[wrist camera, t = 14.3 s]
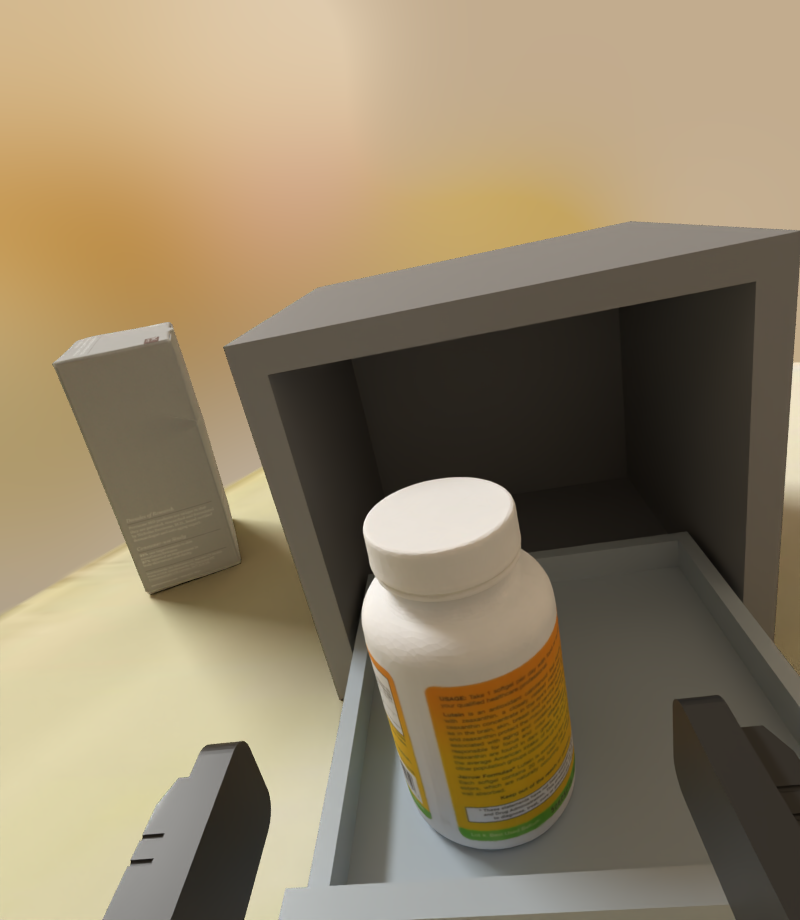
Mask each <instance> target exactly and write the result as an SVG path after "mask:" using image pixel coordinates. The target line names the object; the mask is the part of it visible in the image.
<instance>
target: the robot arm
mask: <svg viewBox="0 0 800 920" xmlns="http://www.w3.org/2000/svg"><path fill="white" fill-rule="evenodd" d="M672 708H673V757H674V765H675V770H676V775H677V779H678V782H679V786H680V789H681V792H682V794H683V797H684V799H685V802H686V804H687V806H688V809H689V811H690V814H691V816H692V818H693V821H694V823H695V825H696V828H697V830H698V832H699V835H700V837H701V839H702V842H703V844H704V846H705V849H706V851H707V853H708V856H709V858H710V861H711V863H712V865H713V868H714V870H715V872H716V875H717V877H718V879H719V882H720V884H721V886H722V889H723V891H724V893H725V896H726V898H727V901H728V903H729V905H730V908H731V910H732V912H733V915H734V917H735V919H736V920H800V759H799V758H798V756H797V755H796V753H795V752H794V751H793V750H792V749H791V748H790V747H789V746H787V745H786V744H785V743H784V742H782V741H781V740H780V739H779V738H778V737H776V736H775V735H774V734H773V733H772V732H770V731H769V730H768V729H767V728H766V727H764V726H763V725H760V726H749V727H740V725H739V723H738V722H737V720H736V718H735V717H734V715H733V713H732V711H731V710H730V708H729V706H728V705H727V703H726V702H725V700H724V699H723V698H722V697H721V696H719V695H711V696H701V697H691V698H681V699H674V701H673V707H672ZM270 817H271V803H270V796H269V792H268V789H267V787H266V785H265V782H264V780H263V778H262V775H261V773H260V771H259V768H258V766H257V764H256V761H255V759H254V757H253V754H252V752H251V750H250V747H249V746H248V744H247V743H246V742H244V741H240V742H230V743H220V744H210V745H206V746H205V747H204V748H203V749H202V750H201V752H200V754H199V756H198V758H197V760H196V762H195V765H194V767H193V769H192V772H191V774H190V776H189V777H184V778H178V779H177V780H176V782H175V783H174V784H173V785H172V787H171V788H170V789H169V790H168V791H167V793H166V794H165V795H164V796H163V797H162V799H161V800H160V801H159V802H158V804H157V805H156V807H155V809H154V811H153V813H152V815H151V817H150V820H149V822H148V824H147V826H146V828H145V830H144V832H143V838H142V841H139V843H138V845H137V847H136V849H135V852H134V854H133V856H132V858H131V864H130V866H128V867H127V869H126V871H125V873H124V875H123V877H122V879H121V881H120V883H119V886H118V888H117V890H116V892H115V894H114V896H113V898H112V900H111V903H110V905H109V907H108V909H107V911H106V913H105V915H104V917H103V920H244V918H245V915H246V911H247V907H248V903H249V900H250V896H251V892H252V889H253V885H254V881H255V878H256V874H257V870H258V866H259V863H260V859H261V855H262V852H263V848H264V844H265V840H266V837H267V833H268V829H269V824H270Z"/></svg>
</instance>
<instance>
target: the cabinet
mask: <svg viewBox="0 0 800 920" xmlns="http://www.w3.org/2000/svg"><path fill="white" fill-rule="evenodd" d="M799 267H800V231H799V230H782V229H763V228H744V227H726V226H706V225H687V224H670V223H651V222H632V221H630V222H626V223H621V224H616V225H612V226H607V227H602V228H598V229H593V230H588V231H583V232H579V233H574V234H569V235H564V236H560V237H555V238H550V239H545V240H541V241H536V242H531V243H527V244H522V245H517V246H512V247H508V248H503V249H498V250H493V251H489V252H484V253H479V254H474V255H470V256H465V257H460V258H455V259H451V260H446V261H441V262H437V263H432V264H427V265H422V266H418V267H413V268H408V269H404V270H399V271H394V272H389V273H385V274H380V275H375V276H371V277H366V278H361V279H357V280H352V281H347V282H342V283H337V284H333V285H328V286H324V287H319V288H316V289H315V290H313V291H312V292H310V293H308V294H307V295H305V296H303V297H302V298H300V299H299V300H297V301H295V302H294V303H292V304H291V305H289V306H288V307H286V308H285V309H283V310H281V311H280V312H278V313H277V314H275V315H273V316H272V317H270V318H269V319H267V320H265V321H264V322H262V323H260V324H259V325H257V326H256V327H254V328H253V329H251V330H249V331H248V332H246V333H245V334H243V335H241V336H240V337H238V338H237V339H235V340H233V341H232V342H230V343H229V344H227V345H226V346H224V347H223V348H224V351H225V354H226V357H227V360H228V363H229V366H230V369H231V372H232V375H233V378H234V381H235V384H236V388H237V390H238V393H239V396H240V400H241V403H242V406H243V409H244V412H245V415H246V418H247V420H248V424H249V427H250V430H251V433H252V436H253V439H254V442H255V445H256V448H257V451H258V454H259V457H260V460H261V463H262V466H263V469H264V472H265V475H266V478H267V481H268V485H269V488H270V491H271V494H272V497H273V500H274V503H275V506H276V509H277V512H278V515H279V518H280V521H281V524H282V527H283V530H284V533H285V536H286V539H287V542H288V545H289V548H290V551H291V554H292V557H293V560H294V563H295V566H296V569H297V572H298V575H299V578H300V582H301V585H302V588H303V591H304V594H305V597H306V600H307V603H308V606H309V609H310V612H311V615H312V618H313V621H314V624H315V627H316V630H317V633H318V636H319V639H320V642H321V645H322V648H323V651H324V654H325V657H326V660H327V663H328V666H329V669H330V672H331V675H332V679H333V682H334V685H335V688H336V691H337V694H338V697H339V699H344V697H345V692H346V687H347V682H348V676H349V671H350V666H351V661H352V656H353V651H354V646H355V641H356V635H357V630H358V625H359V620H360V615H361V610H362V605H363V600H364V594H365V589H366V584H367V579H368V574H374V573H373V571H372V569H371V567H370V563H369V556H368V552H367V548H366V543H365V539H364V534H363V525H364V521H365V519H366V517H367V515H368V513H369V512H370V511H371V509H372V508H373V507H374V506H375V505H376V504H377V503H379V502H380V501H381V500H383V499H384V498H386V497H387V496H389V495H391V494H393V493H395V492H397V491H399V490H401V489H403V488H406V487H408V486H411V485H414V484H418V483H421V482H425V481H430V480H435V479H442V478H452V477H470V478H478V479H483V480H487V481H491V482H493V483H496V484H498V485H500V486H502V487H503V488H505V489H506V490H507V491H508V492H509V493H510V494H511V496H512V498H513V500H514V502H515V506H516V512H517V518H518V523H519V529H520V534H521V549H522V550H524V551H525V552H527V553H530V552H538V551H545V550H553V549H560V548H567V547H575V546H582V545H589V544H597V543H604V542H611V541H619V540H626V539H634V538H641V537H648V536H656V535H663V534H670V533H678V532H685V531H687V532H688V533H689V534H690V536H691V537H692V538H693V539H694V541H695V542H696V543H697V545H698V546H699V547H700V549H701V550H702V551H703V552H704V554H705V555H706V556H707V558H708V559H709V560H710V561H711V563H712V564H713V565H714V567H715V568H716V569H717V570H718V572H719V573H720V574H721V576H722V577H723V578H724V580H725V581H726V582H727V583H728V585H729V586H730V587H731V589H732V590H733V591H734V592H735V594H736V595H737V596H738V598H739V599H740V600H741V601H742V603H743V604H744V605H745V607H746V608H747V609H748V610H749V612H750V613H751V614H752V616H753V617H754V618H755V620H756V621H757V622H758V623H759V625H760V626H761V627H762V629H763V630H764V631H765V632H766V634H767V635H768V636H769V638H770V639H771V640H772V641H773V643H774V631H775V617H776V602H777V588H778V573H779V559H780V544H781V530H782V515H783V500H784V486H785V471H786V457H787V442H788V428H789V413H790V398H791V384H792V369H793V354H794V339H795V326H796V311H797V296H798V282H799Z"/></svg>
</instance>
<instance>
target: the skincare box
mask: <svg viewBox="0 0 800 920" xmlns="http://www.w3.org/2000/svg"><path fill="white" fill-rule="evenodd" d="M52 365H53V367H54V368H55V370H56V373H57V375H58V377H59V380H60V382H61V385H62V387H63V389H64V392H65V394H66V396H67V399H68V401H69V403H70V405H71V408H72V410H73V413H74V415H75V418H76V420H77V423H78V425H79V427H80V430H81V433H82V435H83V437H84V440H85V442H86V445H87V448H88V450H89V452H90V455H91V457H92V460H93V462H94V465H95V467H96V470H97V471H98V475H99V477H100V480H101V482H102V484H103V487H104V489H105V492H106V494H107V497H108V499H109V501H110V504H111V506H112V509H113V511H114V514H115V516H116V518H117V521H118V524H119V526H120V529H121V531H122V534H123V536H124V539H125V541H126V544H127V546H128V548H129V551H130V553H131V556H132V558H133V561H134V563H135V566H136V569H137V571H138V573H139V576H140V578H141V581H142V583H143V585H144V588H145V591H146V592H147V593H149V594H152V593H155V592H157V591H160V590H163V589H166V588H169V587H172V586H175V585H178V584H181V583H184V582H187V581H190V580H193V579H196V578H199V577H202V576H205V575H208V574H211V573H214V572H217V571H220V570H223V569H226V568H229V567H231V566H234V565H237V564H239V563H240V562H241V557H240V552H239V547H238V541H237V537H236V532H235V528H234V524H233V520H232V516H231V513H230V509H229V505H228V501H227V498H226V494H225V491H224V488H223V484H222V481H221V478H220V474H219V471H218V468H217V464H216V461H215V457H214V454H213V451H212V447H211V444H210V440H209V437H208V434H207V430H206V427H205V423H204V419H203V416H202V413H201V410H200V407H199V405H198V402H197V399H196V396H195V393H194V390H193V386H192V383H191V380H190V377H189V374H188V371H187V368H186V364H185V362H184V358H183V355H182V352H181V350H180V347H179V344H178V341H177V338H176V335H175V332H174V329H173V325H172V324H171V323H170V322H167V323H161V324H157V325H152V326H147V327H142V328H137V329H131V330H126V331H121V332H114V333H109V334H103V335H97V336H93V337H88V338H85V339H82V340H79V341H76V342H75V343H74V344H73V345H72V346H71V347H70V348H69V350H67V351H66V352H65V353H64V354H63V355H62V356H61V357H60V358H59V359H58V360H56V361H55V362H54V363H53V364H52Z"/></svg>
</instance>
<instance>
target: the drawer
mask: <svg viewBox="0 0 800 920" xmlns="http://www.w3.org/2000/svg"><path fill="white" fill-rule="evenodd" d="M528 554H529V555H531V556H532V557H533V558H534V559H535V560H536V561H537V562H538V563H539V564H540V565H541V567H542V568H543V569H544V571H545V572H546V574H547V576H548V577H549V580H550V582H551V585H552V588H553V592H554V597H555V602H556V608H557V616H558V625H559V633H560V641H561V650H562V659H563V667H564V675H565V682H566V690H567V698H568V707H569V714H570V722H571V730H572V737H573V745H574V753H575V782H574V787H573V791H572V794H571V797H570V800H569V802H568V804H567V806H566V808H565V810H564V811H563V813H562V814H561V816H560V817H559V818H558V820H557V821H556V822H555V823H554V824H553V825H552V826H551V827H550V828H549V829H548V830H547V831H545V832H544V833H543V834H541V835H540V836H538V837H537V838H535V839H533V840H531V841H529V842H526V843H524V844H521V845H518V846H514V847H511V848H504V849H477V848H472V847H468V846H464V845H461V844H458V843H456V842H454V841H452V840H450V839H448V838H446V837H444V836H443V835H441V834H440V833H438V832H437V831H436V830H435V829H434V828H432V827H431V826H430V825H429V823H428V822H427V821H426V820H425V819H424V818H423V816H422V815H421V814H420V812H419V810H418V809H417V807H416V805H415V803H414V801H413V799H412V796H411V794H410V791H409V788H408V785H407V782H406V779H405V776H404V773H403V769H402V765H401V762H400V758H399V755H398V751H397V748H396V744H395V741H394V738H393V734H392V731H391V727H390V724H389V720H388V717H387V714H386V711H385V708H384V704H383V700H382V697H381V693H380V690H379V686H378V683H377V679H376V676H375V673H374V669H373V666H372V662H371V659H370V655H369V652H368V649H367V646H366V642H365V636H364V632H363V627H362V610H361V615H360V620H359V625H358V630H357V635H356V641H355V646H354V651H353V656H352V661H351V666H350V671H349V676H348V682H347V687H346V692H345V697H344V702H343V707H342V712H341V717H340V723H339V728H338V733H337V738H336V743H335V748H334V753H333V759H332V764H331V769H330V774H329V779H328V784H327V789H326V794H325V800H324V805H323V810H322V815H321V820H320V825H319V830H318V835H317V841H316V846H315V851H314V856H313V861H312V866H311V871H310V876H309V882H308V887H302V888H286V889H285V893H284V898H283V902H282V906H281V911H280V915H279V920H736V919H735V917H734V915H733V912H732V910H731V908H730V905H729V903H728V901H727V898H726V896H725V893H724V891H723V889H722V886H721V884H720V882H719V879H718V877H717V875H716V872H715V870H714V868H713V865H712V863H711V861H710V858H709V856H708V853H707V851H706V849H705V846H704V844H703V842H702V839H701V837H700V835H699V832H698V830H697V828H696V825H695V823H694V821H693V818H692V816H691V814H690V811H689V809H688V806H687V804H686V802H685V799H684V797H683V794H682V792H681V789H680V786H679V782H678V779H677V775H676V770H675V765H674V757H673V708H672V707H673V701H674V699H681V698H691V697H701V696H711V695H719V696H721V697H722V698H723V699H724V700H725V702H726V703H727V705H728V706H729V708H730V710H731V711H732V713H733V715H734V717H735V718H736V720H737V722H738V723H739V725H740V727H749V726H760V725H763V726H764V727H766V728H767V729H768V730H769V731H770V732H772V733H773V734H774V735H775V736H776V737H778V738H779V739H780V740H781V741H782V742H784V743H785V744H786V745H787V746H789V747H790V748H791V749H792V750H793V751H794V752H795V753H796V755H797V756H798V758H799V759H800V676H799V675H798V674H797V672H796V671H795V670H794V669H793V667H792V666H791V665H790V663H789V662H788V661H787V660H786V658H785V657H784V656H783V654H782V653H781V652H780V651H779V649H778V648H777V647H776V645H775V644H774V643H773V641H772V640H771V639H770V638H769V636H768V635H767V634H766V632H765V631H764V630H763V629H762V627H761V626H760V625H759V623H758V622H757V621H756V620H755V618H754V617H753V616H752V614H751V613H750V612H749V610H748V609H747V608H746V607H745V605H744V604H743V603H742V601H741V600H740V599H739V598H738V596H737V595H736V594H735V592H734V591H733V590H732V589H731V587H730V586H729V585H728V583H727V582H726V581H725V580H724V578H723V577H722V576H721V574H720V573H719V572H718V570H717V569H716V568H715V567H714V565H713V564H712V563H711V561H710V560H709V559H708V558H707V556H706V555H705V554H704V552H703V551H702V550H701V549H700V547H699V546H698V545H697V543H696V542H695V541H694V539H693V538H692V537H691V536H690V534H689V533H688V532H687V531H685V532H678V533H670V534H663V535H656V536H648V537H641V538H634V539H626V540H619V541H611V542H604V543H597V544H589V545H582V546H575V547H567V548H560V549H553V550H545V551H538V552H530V553H528ZM374 578H375V575H374V574H368V579H367V584H366V589H365V594H364V598H365V596H366V593H367V591H368V588H369V587H370V585H371V583H372V581H373V580H374ZM363 602H364V600H363ZM362 606H363V605H362Z"/></svg>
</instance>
